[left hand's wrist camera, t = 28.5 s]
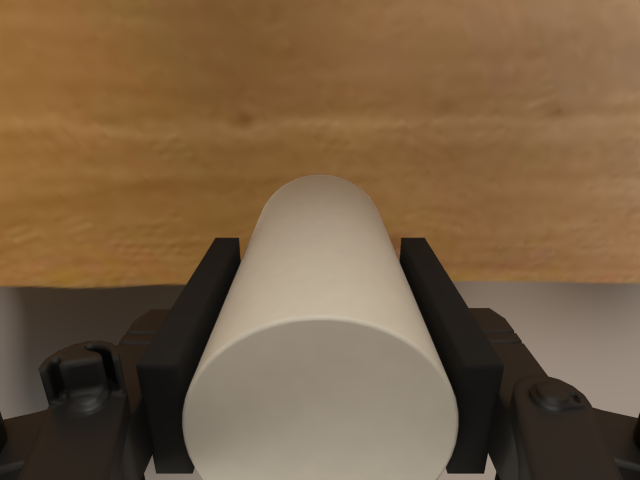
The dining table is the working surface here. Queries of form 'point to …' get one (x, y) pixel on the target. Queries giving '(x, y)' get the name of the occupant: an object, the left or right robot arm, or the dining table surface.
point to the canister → (320, 354)
